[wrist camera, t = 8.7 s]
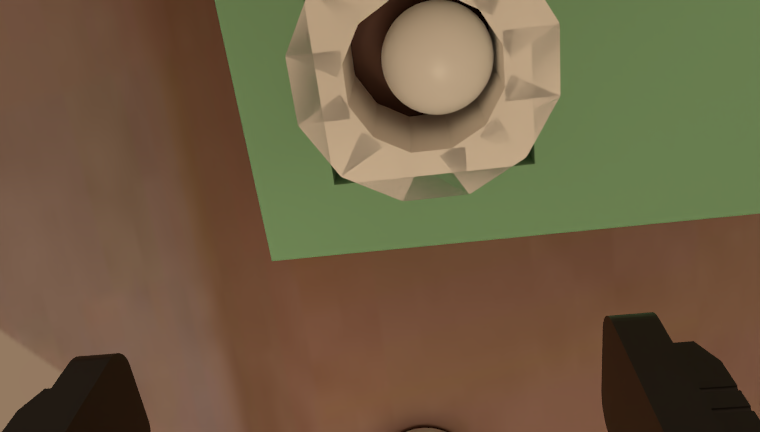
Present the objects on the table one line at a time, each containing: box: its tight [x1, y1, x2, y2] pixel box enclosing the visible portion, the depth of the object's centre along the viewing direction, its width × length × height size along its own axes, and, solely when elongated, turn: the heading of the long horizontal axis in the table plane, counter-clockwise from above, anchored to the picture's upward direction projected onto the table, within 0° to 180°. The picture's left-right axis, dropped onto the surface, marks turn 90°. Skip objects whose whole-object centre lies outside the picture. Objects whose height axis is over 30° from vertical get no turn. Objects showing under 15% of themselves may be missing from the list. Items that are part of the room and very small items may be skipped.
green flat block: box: [215, 0, 760, 261], centre depth 27 cm, size 26×14×4 cm, turn 97°
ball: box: [381, 0, 494, 115], centre depth 27 cm, size 4×4×4 cm
